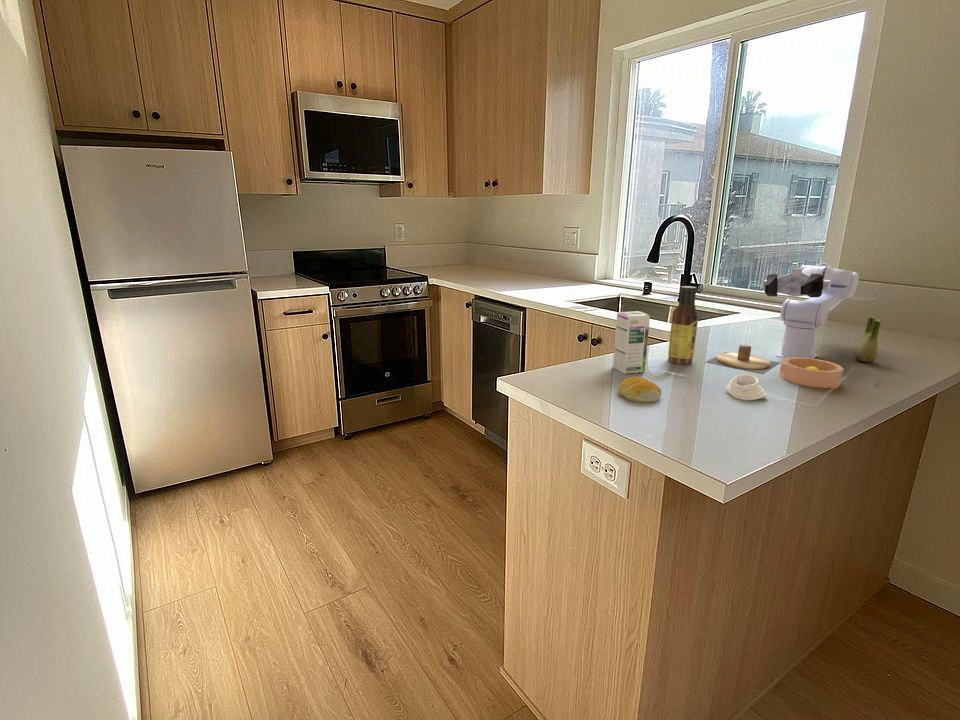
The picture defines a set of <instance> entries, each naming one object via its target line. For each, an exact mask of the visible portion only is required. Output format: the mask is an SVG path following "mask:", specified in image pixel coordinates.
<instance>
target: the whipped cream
mask: <svg viewBox="0 0 960 720" xmlns="http://www.w3.org/2000/svg"><path fill="white" fill-rule="evenodd" d="M759 383H760V380H759V378H758V377H755V376H754V375H752V374H748V373H747V374H745V373H744V374H739V375H736V376H734V377H733V378H732V379H731V380H730V381H729V382H728V383H727V386H726V387H725V388H724V390H726V391H728V393H729V395H730V396H732V397H733V398H736V399H740V400H744V401H755V400H760V399H762V398H765V397H767V395H768V394H767V393H766V391H765V389H763V388H762V386H761V385H759Z"/></svg>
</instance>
